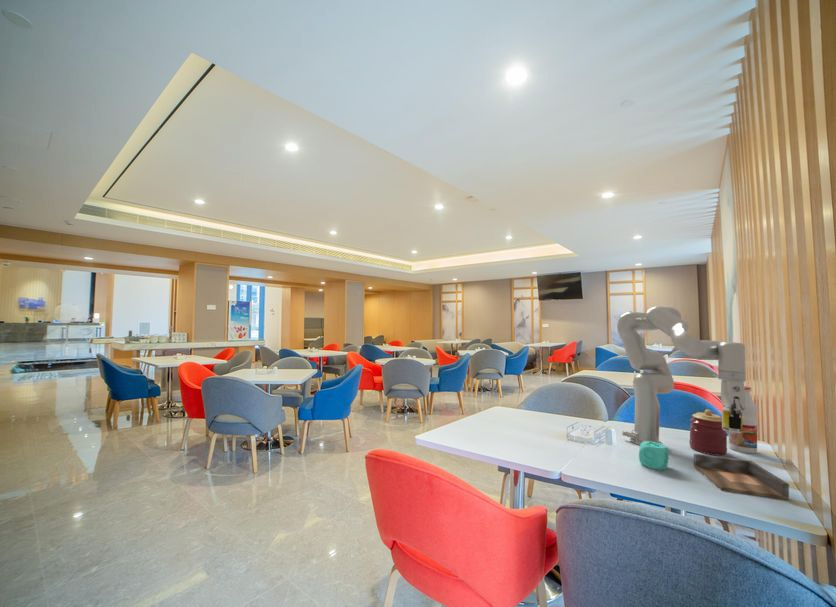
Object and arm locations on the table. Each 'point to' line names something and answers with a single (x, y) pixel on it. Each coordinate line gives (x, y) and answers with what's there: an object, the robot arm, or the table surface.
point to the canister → (708, 433)
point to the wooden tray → (741, 476)
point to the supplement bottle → (726, 421)
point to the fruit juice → (746, 428)
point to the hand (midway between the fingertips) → (731, 425)
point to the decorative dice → (653, 455)
